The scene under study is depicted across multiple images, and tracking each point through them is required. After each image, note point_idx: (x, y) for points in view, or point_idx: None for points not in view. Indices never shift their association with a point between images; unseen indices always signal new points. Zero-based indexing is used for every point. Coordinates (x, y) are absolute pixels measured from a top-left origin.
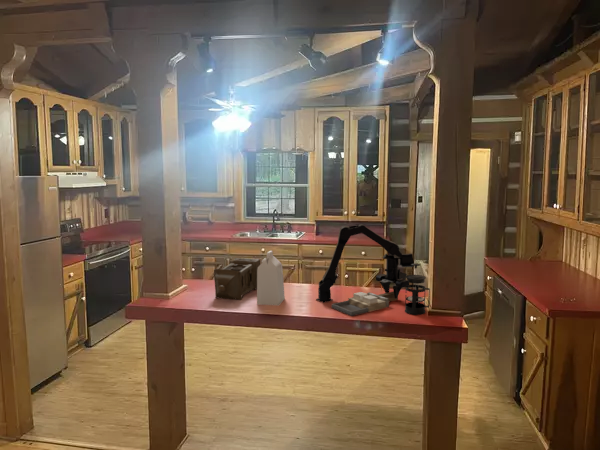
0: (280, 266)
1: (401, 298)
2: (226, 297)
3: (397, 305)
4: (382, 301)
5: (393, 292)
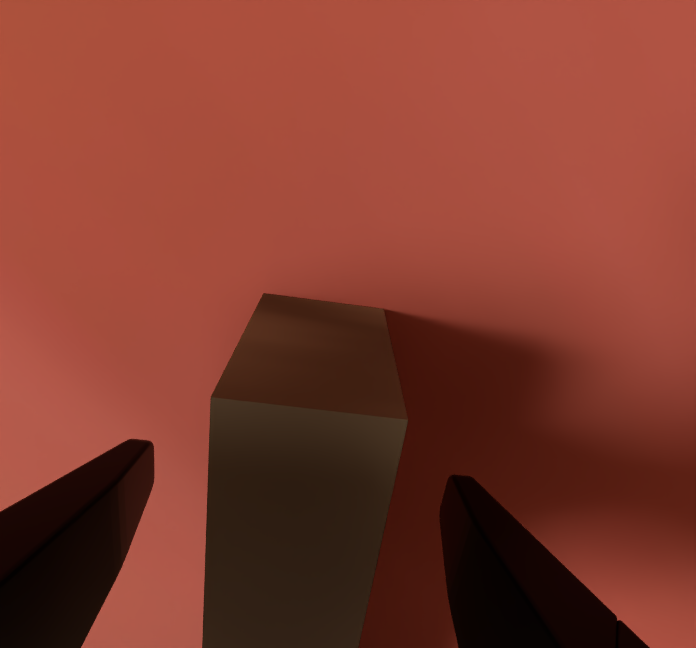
0: None
1: (398, 162)
2: None
3: None
4: None
5: (321, 557)
